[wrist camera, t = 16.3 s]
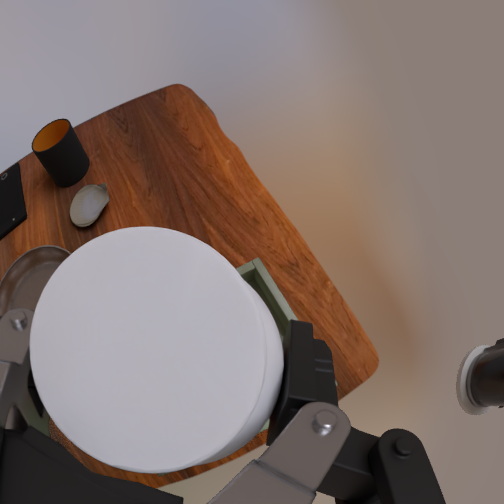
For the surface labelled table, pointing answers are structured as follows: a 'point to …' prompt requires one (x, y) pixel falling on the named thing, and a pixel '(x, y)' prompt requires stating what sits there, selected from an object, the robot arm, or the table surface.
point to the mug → (61, 152)
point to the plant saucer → (29, 277)
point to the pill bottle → (154, 352)
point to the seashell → (88, 204)
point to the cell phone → (11, 200)
